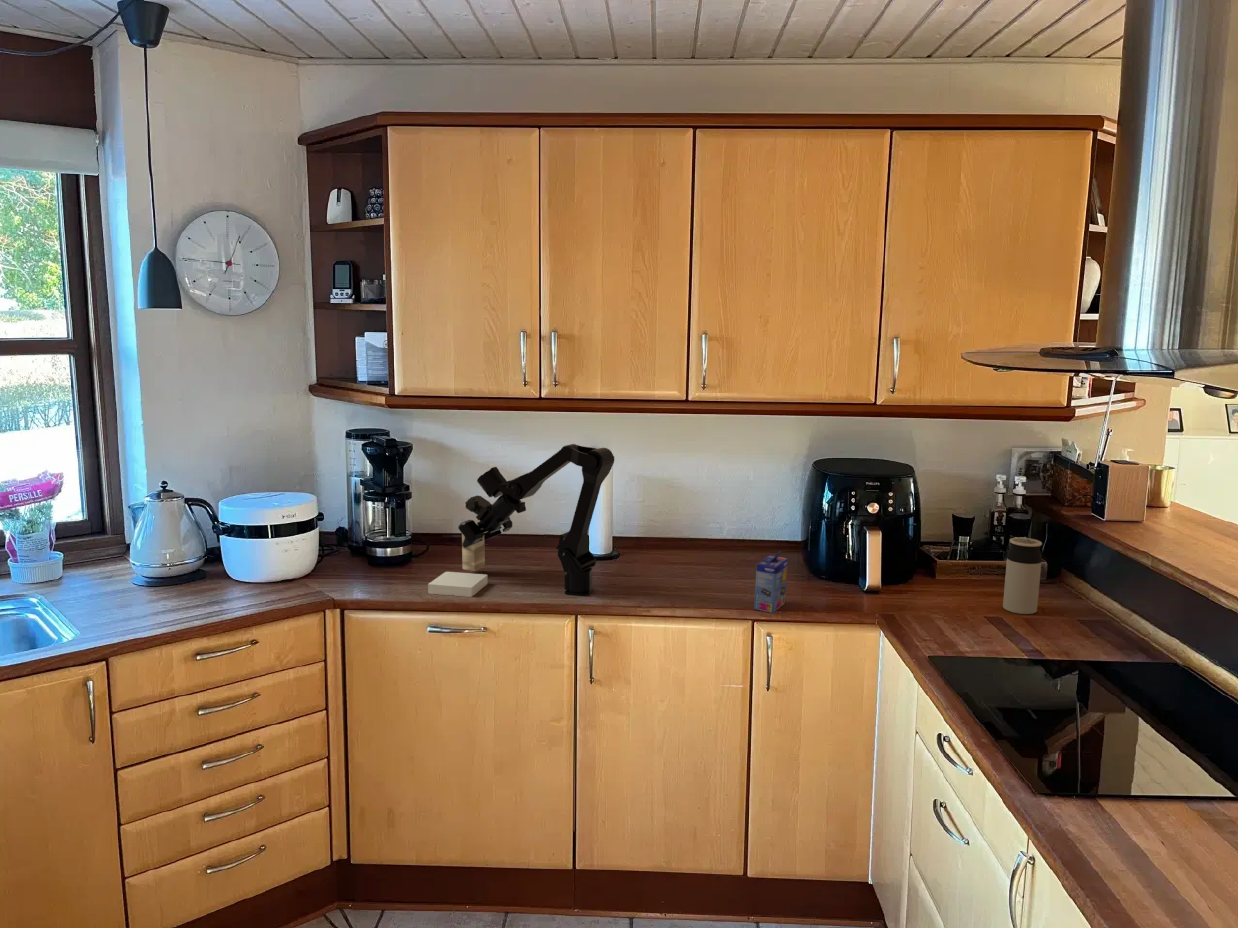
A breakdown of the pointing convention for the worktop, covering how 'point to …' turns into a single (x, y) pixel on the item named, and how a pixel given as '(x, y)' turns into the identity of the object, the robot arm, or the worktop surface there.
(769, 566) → the ink cartridge box
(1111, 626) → the worktop surface
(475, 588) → the cream square slab
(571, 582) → the robot arm
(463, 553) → the birch block
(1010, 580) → the travel mug
